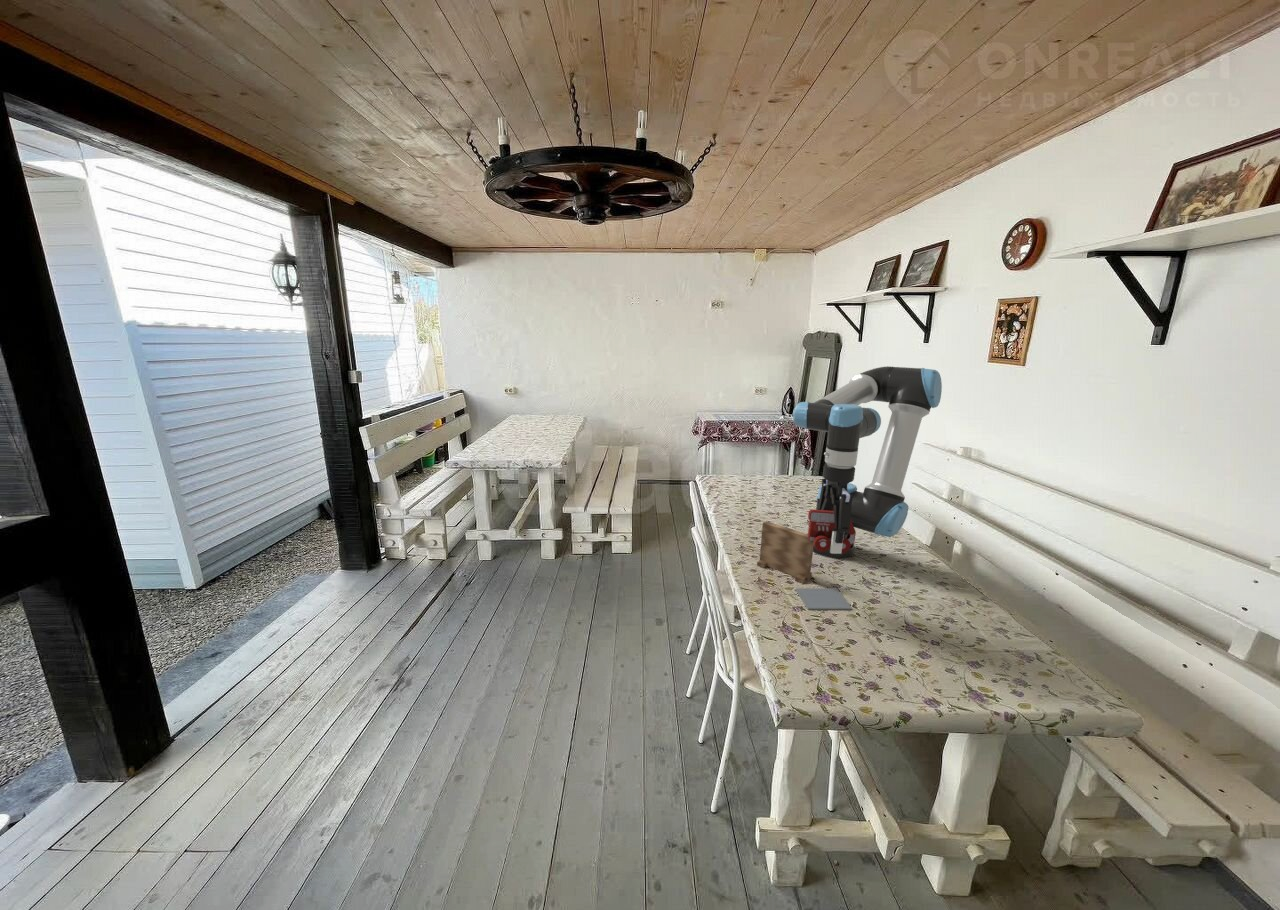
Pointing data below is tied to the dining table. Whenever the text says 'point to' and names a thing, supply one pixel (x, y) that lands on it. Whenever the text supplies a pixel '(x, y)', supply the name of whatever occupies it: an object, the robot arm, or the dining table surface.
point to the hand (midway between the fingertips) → (829, 545)
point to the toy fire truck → (827, 530)
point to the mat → (823, 599)
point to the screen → (786, 551)
